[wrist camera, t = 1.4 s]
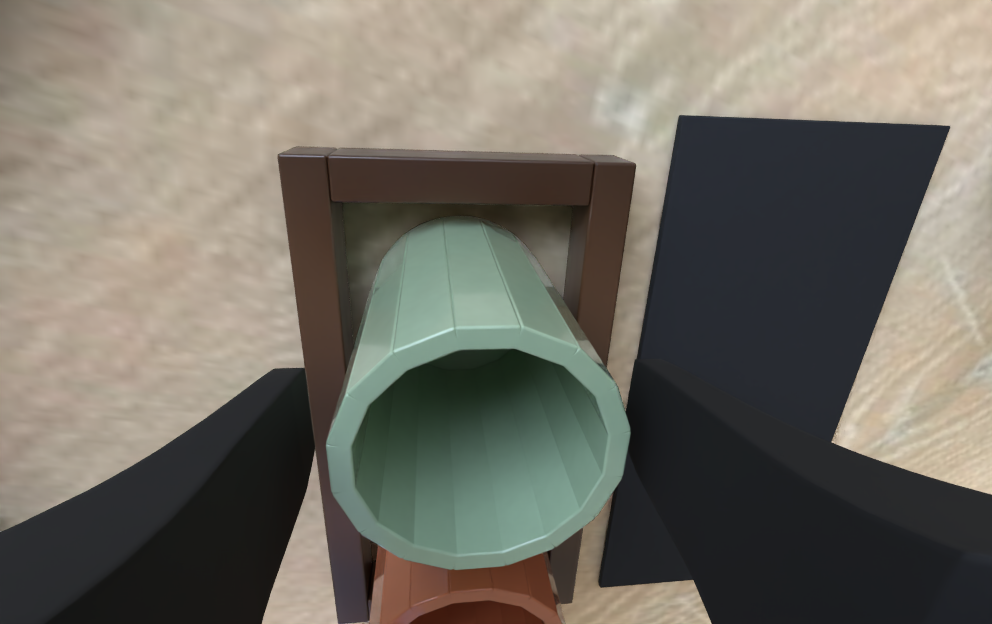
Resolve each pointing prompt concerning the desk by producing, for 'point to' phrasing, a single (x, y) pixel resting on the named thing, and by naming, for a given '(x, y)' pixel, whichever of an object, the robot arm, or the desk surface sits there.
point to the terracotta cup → (464, 593)
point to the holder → (434, 180)
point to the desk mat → (770, 280)
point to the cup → (472, 405)
